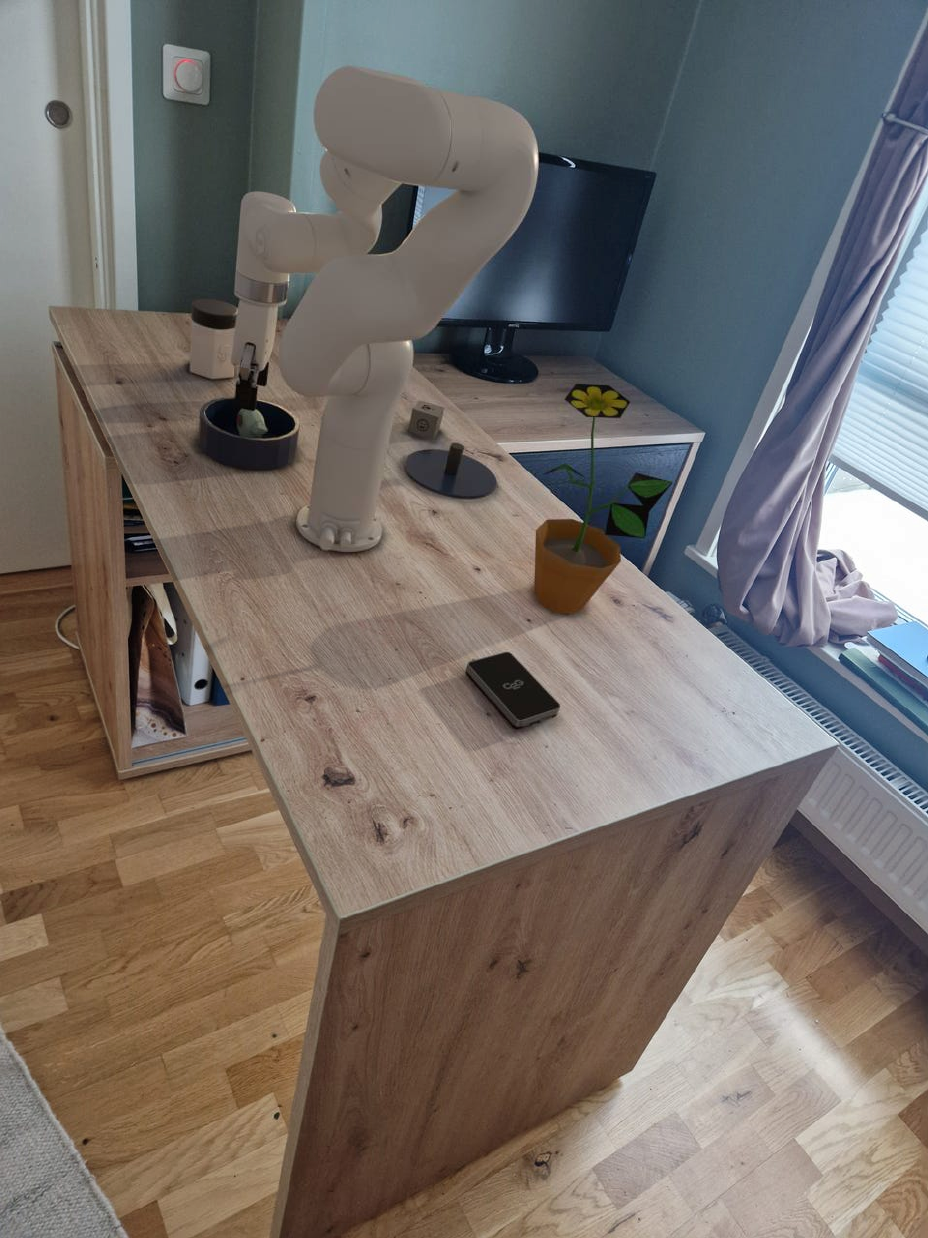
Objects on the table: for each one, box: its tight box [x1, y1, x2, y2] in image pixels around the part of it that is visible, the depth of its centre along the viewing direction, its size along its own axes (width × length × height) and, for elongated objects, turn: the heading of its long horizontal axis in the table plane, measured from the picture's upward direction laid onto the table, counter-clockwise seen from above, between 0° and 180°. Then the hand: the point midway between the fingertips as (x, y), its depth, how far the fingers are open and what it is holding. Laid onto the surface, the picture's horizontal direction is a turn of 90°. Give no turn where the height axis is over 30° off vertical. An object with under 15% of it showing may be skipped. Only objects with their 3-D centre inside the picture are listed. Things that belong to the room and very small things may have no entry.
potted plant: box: [533, 383, 674, 616], centre depth 112 cm, size 18×19×30 cm
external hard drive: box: [464, 651, 561, 731], centre depth 100 cm, size 7×11×2 cm, turn 35°
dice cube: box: [407, 399, 445, 440], centre depth 154 cm, size 5×5×5 cm
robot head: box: [237, 409, 268, 439], centre depth 133 cm, size 8×4×7 cm, turn 32°
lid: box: [403, 442, 498, 500], centre depth 142 cm, size 16×16×6 cm
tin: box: [198, 396, 301, 472], centre depth 134 cm, size 15×15×5 cm
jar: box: [189, 298, 238, 380], centre depth 152 cm, size 9×8×12 cm
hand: (250, 395), depth 130 cm, fingers open, 9 cm apart
